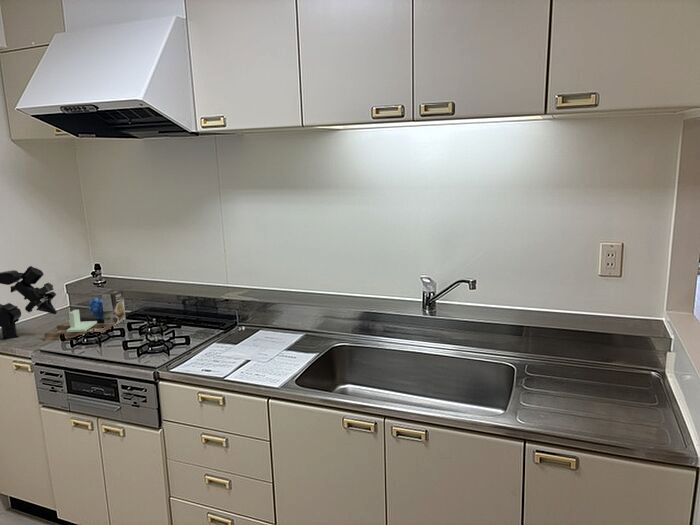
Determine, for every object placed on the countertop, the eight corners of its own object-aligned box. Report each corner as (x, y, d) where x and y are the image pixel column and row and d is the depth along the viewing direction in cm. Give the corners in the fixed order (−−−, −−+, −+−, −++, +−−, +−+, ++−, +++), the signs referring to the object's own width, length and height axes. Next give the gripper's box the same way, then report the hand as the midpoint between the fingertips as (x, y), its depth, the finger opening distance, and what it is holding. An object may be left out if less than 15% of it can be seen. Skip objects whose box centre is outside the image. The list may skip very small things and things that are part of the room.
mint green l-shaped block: (66, 332, 234) (64, 315, 233) (80, 323, 248) (78, 307, 246) (84, 331, 235) (83, 314, 233) (97, 322, 248) (95, 307, 247)
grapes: (84, 322, 262) (82, 299, 260) (93, 318, 269) (90, 296, 267) (104, 322, 260) (102, 299, 258) (113, 319, 267) (110, 296, 265)
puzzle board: (43, 340, 233) (43, 334, 232) (60, 330, 248) (59, 324, 248) (102, 337, 235) (102, 332, 234) (115, 327, 251) (114, 322, 250)
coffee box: (115, 325, 254) (112, 294, 252) (103, 325, 255) (100, 293, 253) (126, 320, 263) (123, 290, 260) (115, 320, 264) (112, 289, 261)
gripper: (29, 282, 227) (57, 305, 229) (49, 275, 245) (76, 296, 248) (12, 300, 227) (41, 323, 230) (34, 291, 246) (61, 312, 248)
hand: (56, 313), depth 239 cm, fingers closed
